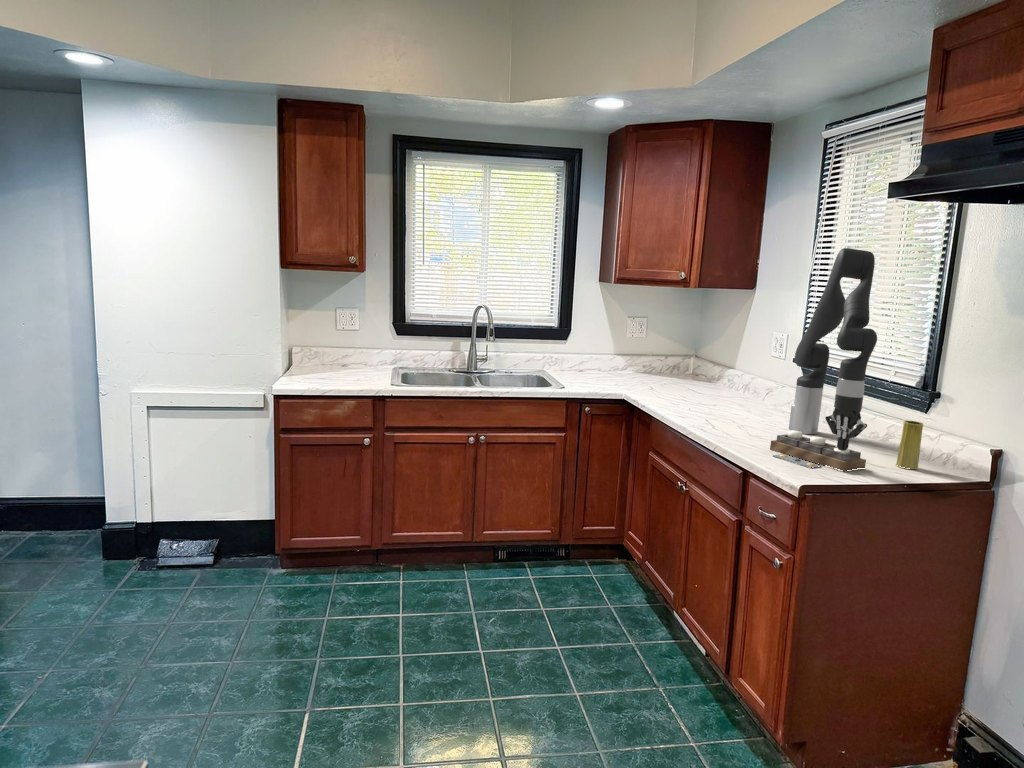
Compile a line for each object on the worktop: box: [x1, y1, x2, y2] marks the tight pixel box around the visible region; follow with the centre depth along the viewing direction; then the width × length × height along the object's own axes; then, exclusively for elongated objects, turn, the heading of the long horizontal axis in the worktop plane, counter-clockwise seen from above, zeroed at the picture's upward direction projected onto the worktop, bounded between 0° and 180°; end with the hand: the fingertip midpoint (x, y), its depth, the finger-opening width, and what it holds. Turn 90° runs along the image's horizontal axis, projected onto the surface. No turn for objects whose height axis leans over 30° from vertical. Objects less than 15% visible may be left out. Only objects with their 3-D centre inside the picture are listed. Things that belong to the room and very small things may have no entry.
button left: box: [787, 429, 803, 440], centre depth 225 cm, size 4×4×2 cm
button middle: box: [809, 435, 827, 446], centre depth 217 cm, size 4×4×2 cm
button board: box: [769, 433, 867, 471], centre depth 218 cm, size 27×10×5 cm, turn 30°
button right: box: [834, 448, 851, 453], centre depth 210 cm, size 4×4×2 cm
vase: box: [895, 420, 924, 470], centre depth 213 cm, size 6×6×14 cm
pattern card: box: [772, 453, 822, 468], centre depth 214 cm, size 14×5×1 cm, turn 30°
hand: (842, 449), depth 210 cm, fingers closed
